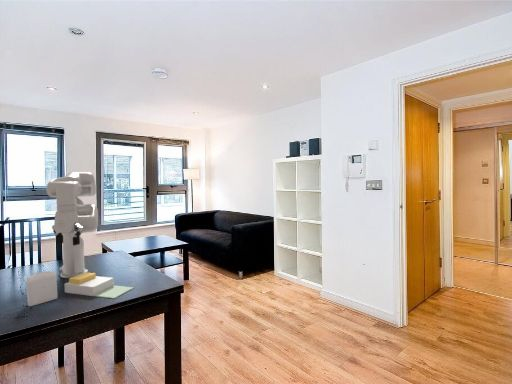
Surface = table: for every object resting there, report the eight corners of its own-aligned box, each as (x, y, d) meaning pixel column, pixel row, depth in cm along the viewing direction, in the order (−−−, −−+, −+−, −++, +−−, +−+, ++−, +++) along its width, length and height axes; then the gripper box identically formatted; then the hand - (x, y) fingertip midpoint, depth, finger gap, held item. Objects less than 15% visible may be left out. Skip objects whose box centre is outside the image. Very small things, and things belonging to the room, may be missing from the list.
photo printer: (28, 307, 114) (27, 277, 114) (26, 304, 117) (24, 274, 116) (59, 299, 122) (57, 270, 121) (55, 296, 125) (54, 268, 124)
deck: (64, 292, 129) (64, 283, 129) (87, 283, 141) (86, 275, 140) (93, 296, 125) (93, 287, 124) (114, 286, 136) (113, 277, 136)
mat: (94, 296, 125) (93, 295, 125) (114, 286, 136) (114, 285, 136) (114, 298, 122) (114, 297, 122) (133, 288, 133) (133, 287, 133)
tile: (69, 282, 130) (69, 278, 130) (85, 276, 139) (85, 272, 139) (79, 284, 128) (79, 279, 128) (95, 277, 137) (95, 273, 137)
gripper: (44, 208, 133) (46, 245, 134) (74, 209, 129) (76, 247, 130) (59, 207, 140) (60, 241, 141) (88, 207, 136) (89, 243, 137)
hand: (68, 244), depth 135 cm, fingers open, 9 cm apart
